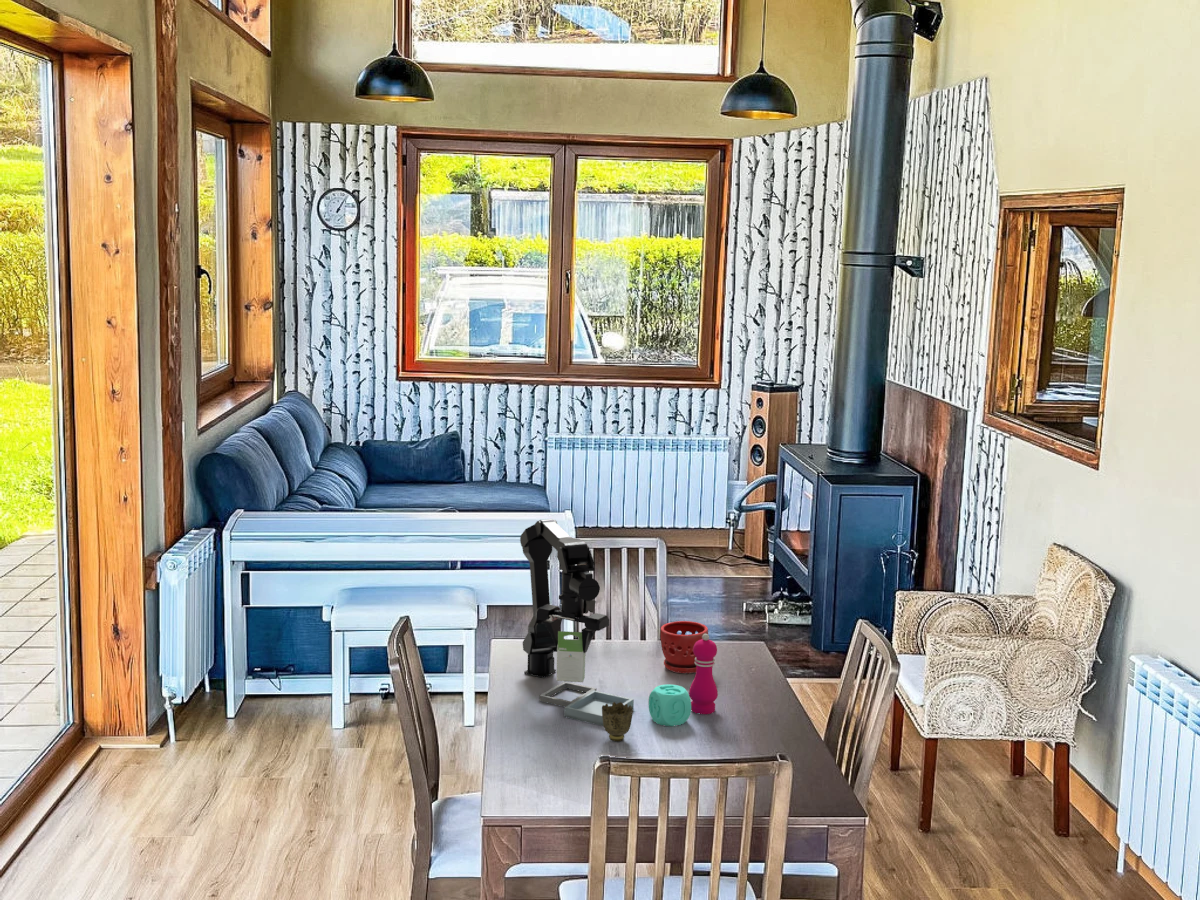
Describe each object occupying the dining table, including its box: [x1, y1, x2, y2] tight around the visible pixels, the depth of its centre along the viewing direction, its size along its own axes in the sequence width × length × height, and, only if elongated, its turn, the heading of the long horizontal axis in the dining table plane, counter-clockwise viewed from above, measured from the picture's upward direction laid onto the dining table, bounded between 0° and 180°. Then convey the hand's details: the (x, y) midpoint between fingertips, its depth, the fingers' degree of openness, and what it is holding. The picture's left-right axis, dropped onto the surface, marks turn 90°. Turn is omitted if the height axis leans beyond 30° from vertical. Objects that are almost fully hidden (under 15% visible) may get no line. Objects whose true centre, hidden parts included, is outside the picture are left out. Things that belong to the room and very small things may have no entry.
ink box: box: [556, 630, 586, 683], centre depth 326 cm, size 7×4×13 cm, turn 84°
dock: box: [539, 681, 598, 707], centre depth 328 cm, size 10×13×2 cm
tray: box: [563, 690, 635, 727], centre depth 318 cm, size 12×15×2 cm
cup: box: [602, 702, 634, 743], centre depth 301 cm, size 8×7×8 cm
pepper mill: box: [688, 633, 719, 715], centre depth 321 cm, size 7×7×20 cm
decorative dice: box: [648, 683, 692, 727], centre depth 314 cm, size 8×8×8 cm
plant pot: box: [659, 620, 709, 675], centre depth 352 cm, size 13×13×12 cm
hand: (571, 649), depth 326 cm, fingers closed on ink box, 8 cm apart
